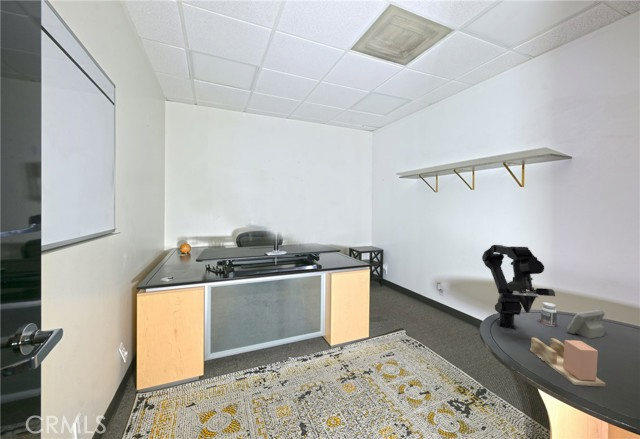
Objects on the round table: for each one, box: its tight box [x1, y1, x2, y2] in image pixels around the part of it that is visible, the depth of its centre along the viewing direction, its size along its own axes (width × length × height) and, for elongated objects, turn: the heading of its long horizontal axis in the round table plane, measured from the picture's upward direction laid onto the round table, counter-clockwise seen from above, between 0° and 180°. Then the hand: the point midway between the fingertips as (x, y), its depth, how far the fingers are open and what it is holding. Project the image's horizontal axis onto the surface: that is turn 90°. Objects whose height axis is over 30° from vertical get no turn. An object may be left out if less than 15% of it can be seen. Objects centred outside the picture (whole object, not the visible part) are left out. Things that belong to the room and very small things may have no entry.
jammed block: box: [563, 339, 599, 381], centre depth 84 cm, size 6×5×10 cm
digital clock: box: [566, 309, 605, 340], centre depth 113 cm, size 16×9×11 cm, turn 93°
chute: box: [529, 337, 606, 387], centre depth 89 cm, size 19×9×6 cm, turn 175°
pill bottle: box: [540, 301, 558, 327], centre depth 122 cm, size 6×6×10 cm
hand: (527, 312), depth 105 cm, fingers closed
